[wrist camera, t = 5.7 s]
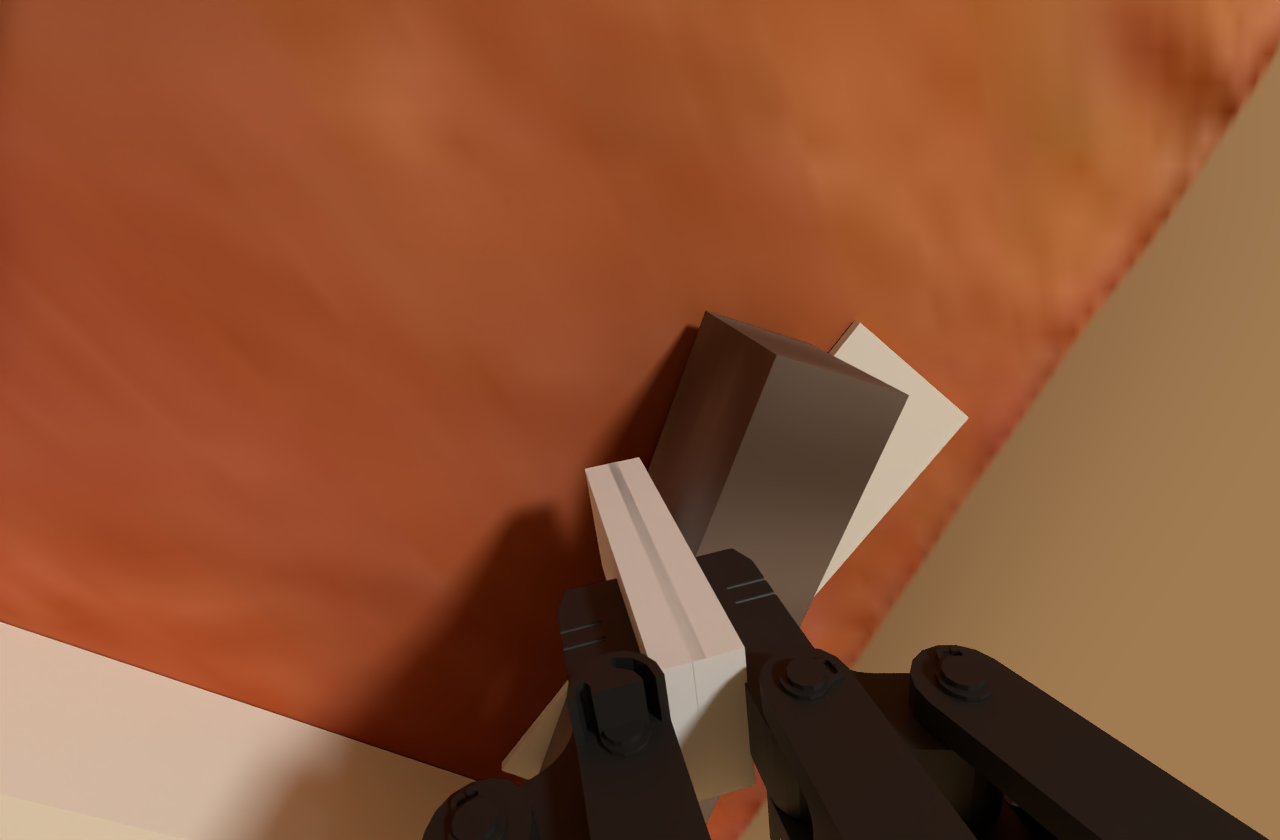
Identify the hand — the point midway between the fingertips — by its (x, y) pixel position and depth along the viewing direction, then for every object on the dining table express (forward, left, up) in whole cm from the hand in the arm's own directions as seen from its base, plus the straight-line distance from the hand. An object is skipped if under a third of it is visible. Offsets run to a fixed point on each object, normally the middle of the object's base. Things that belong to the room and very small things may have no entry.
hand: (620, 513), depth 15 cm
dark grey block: (+4, -3, -2) cm, 5 cm away
